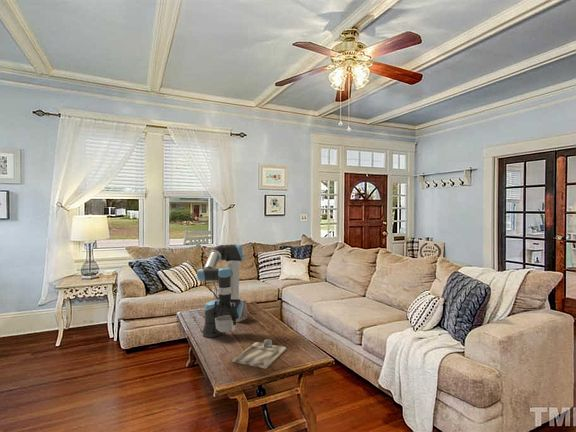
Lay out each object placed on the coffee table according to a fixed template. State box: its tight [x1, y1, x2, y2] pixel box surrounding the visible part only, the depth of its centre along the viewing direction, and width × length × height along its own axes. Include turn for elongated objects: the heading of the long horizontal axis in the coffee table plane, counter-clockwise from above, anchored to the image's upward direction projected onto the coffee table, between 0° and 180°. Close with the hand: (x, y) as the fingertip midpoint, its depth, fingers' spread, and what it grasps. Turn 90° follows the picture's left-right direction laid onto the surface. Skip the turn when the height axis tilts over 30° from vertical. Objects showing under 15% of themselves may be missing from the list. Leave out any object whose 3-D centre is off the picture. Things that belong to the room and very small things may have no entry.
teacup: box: [215, 315, 237, 333], centre depth 203 cm, size 14×11×8 cm
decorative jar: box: [236, 296, 248, 323], centre depth 267 cm, size 12×12×18 cm
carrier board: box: [232, 338, 287, 369], centre depth 201 cm, size 22×28×5 cm
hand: (225, 328), depth 204 cm, fingers closed on teacup, 11 cm apart
